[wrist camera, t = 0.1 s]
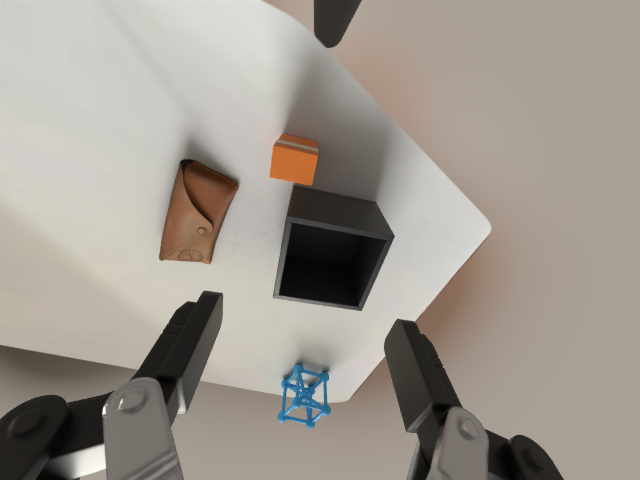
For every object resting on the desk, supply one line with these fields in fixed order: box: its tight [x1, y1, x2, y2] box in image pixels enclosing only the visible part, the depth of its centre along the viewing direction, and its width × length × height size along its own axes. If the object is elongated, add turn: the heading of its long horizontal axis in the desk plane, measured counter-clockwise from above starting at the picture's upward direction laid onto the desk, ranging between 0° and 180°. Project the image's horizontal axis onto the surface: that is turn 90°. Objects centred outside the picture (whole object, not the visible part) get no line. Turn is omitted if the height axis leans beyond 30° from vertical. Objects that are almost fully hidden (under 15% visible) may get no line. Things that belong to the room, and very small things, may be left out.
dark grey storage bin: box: [273, 185, 395, 311], centre depth 37 cm, size 14×14×11 cm
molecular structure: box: [278, 364, 331, 429], centre depth 61 cm, size 10×10×10 cm
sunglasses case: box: [159, 159, 239, 264], centre depth 39 cm, size 18×7×7 cm
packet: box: [270, 134, 319, 186], centre depth 31 cm, size 4×5×9 cm
